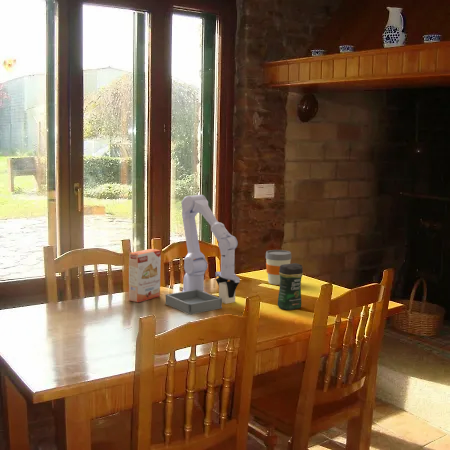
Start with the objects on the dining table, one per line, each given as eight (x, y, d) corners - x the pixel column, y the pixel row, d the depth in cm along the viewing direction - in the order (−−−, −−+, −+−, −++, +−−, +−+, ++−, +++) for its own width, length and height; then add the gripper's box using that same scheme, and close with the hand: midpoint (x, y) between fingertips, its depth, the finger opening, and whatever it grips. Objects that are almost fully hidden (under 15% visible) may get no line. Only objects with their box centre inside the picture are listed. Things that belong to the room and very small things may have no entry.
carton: (218, 300, 258) (219, 282, 257) (228, 299, 261) (228, 281, 260) (225, 303, 254) (226, 285, 253) (235, 301, 257) (235, 283, 256)
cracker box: (138, 303, 252) (138, 254, 249) (128, 300, 256) (127, 252, 252) (161, 296, 263) (161, 249, 260) (151, 294, 267) (151, 247, 264)
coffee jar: (285, 311, 244) (287, 266, 241) (274, 306, 251) (275, 263, 248) (304, 308, 249) (306, 264, 246) (293, 303, 256) (294, 261, 253)
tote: (165, 303, 252) (165, 294, 251) (196, 298, 261) (197, 289, 261) (189, 314, 237) (189, 304, 237) (221, 308, 247) (222, 298, 246)
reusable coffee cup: (295, 281, 294) (296, 251, 292) (283, 287, 284) (284, 255, 281) (272, 278, 301) (273, 248, 299) (260, 283, 290) (261, 252, 288)
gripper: (245, 266, 252) (245, 298, 254) (224, 260, 263) (224, 290, 265) (232, 268, 247) (231, 300, 249) (211, 262, 259) (211, 293, 261)
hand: (227, 295), depth 257 cm, fingers closed on carton, 5 cm apart
